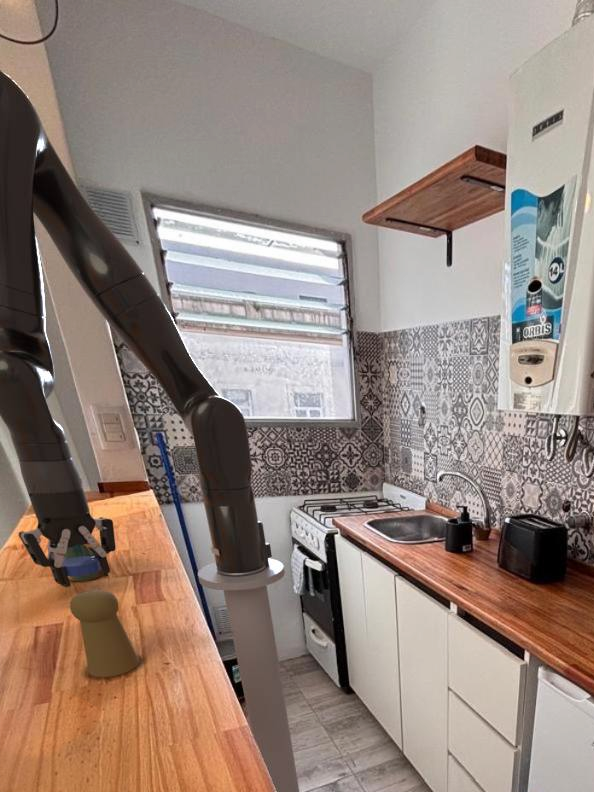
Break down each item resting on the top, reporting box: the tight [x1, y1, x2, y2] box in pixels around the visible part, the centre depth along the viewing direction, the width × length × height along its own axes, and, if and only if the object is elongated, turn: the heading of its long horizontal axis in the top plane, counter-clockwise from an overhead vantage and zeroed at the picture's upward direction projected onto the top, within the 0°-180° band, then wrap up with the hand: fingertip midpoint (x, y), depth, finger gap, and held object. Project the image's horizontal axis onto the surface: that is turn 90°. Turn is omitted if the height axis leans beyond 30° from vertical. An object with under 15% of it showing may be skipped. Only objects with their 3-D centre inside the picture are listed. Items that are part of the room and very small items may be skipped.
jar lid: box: [62, 556, 102, 577], centre depth 93 cm, size 6×6×2 cm
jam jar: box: [63, 545, 101, 582], centre depth 100 cm, size 5×5×10 cm
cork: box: [69, 589, 140, 678], centre depth 70 cm, size 6×6×11 cm
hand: (85, 580), depth 94 cm, fingers closed on jar lid, 5 cm apart
